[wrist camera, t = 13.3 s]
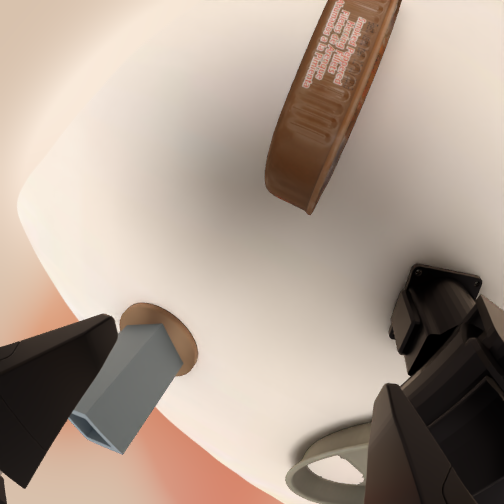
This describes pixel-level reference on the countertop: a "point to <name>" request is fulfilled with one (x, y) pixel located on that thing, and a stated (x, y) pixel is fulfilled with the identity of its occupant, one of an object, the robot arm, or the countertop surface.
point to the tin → (327, 98)
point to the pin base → (173, 326)
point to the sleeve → (127, 386)
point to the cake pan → (339, 443)
